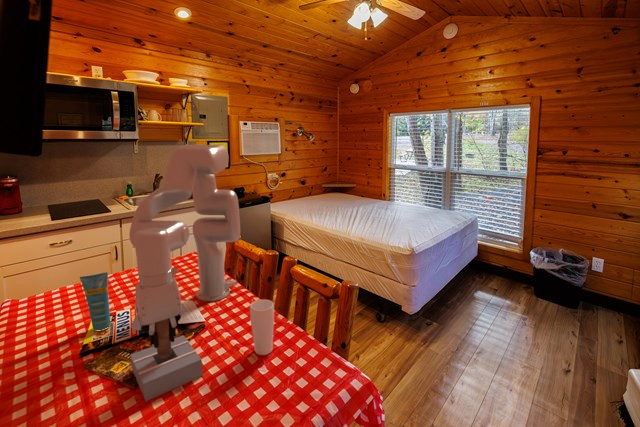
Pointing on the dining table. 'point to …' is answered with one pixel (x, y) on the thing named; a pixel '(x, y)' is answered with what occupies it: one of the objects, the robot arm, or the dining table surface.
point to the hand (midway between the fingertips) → (163, 341)
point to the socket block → (166, 368)
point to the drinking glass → (262, 325)
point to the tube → (97, 299)
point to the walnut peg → (163, 339)
